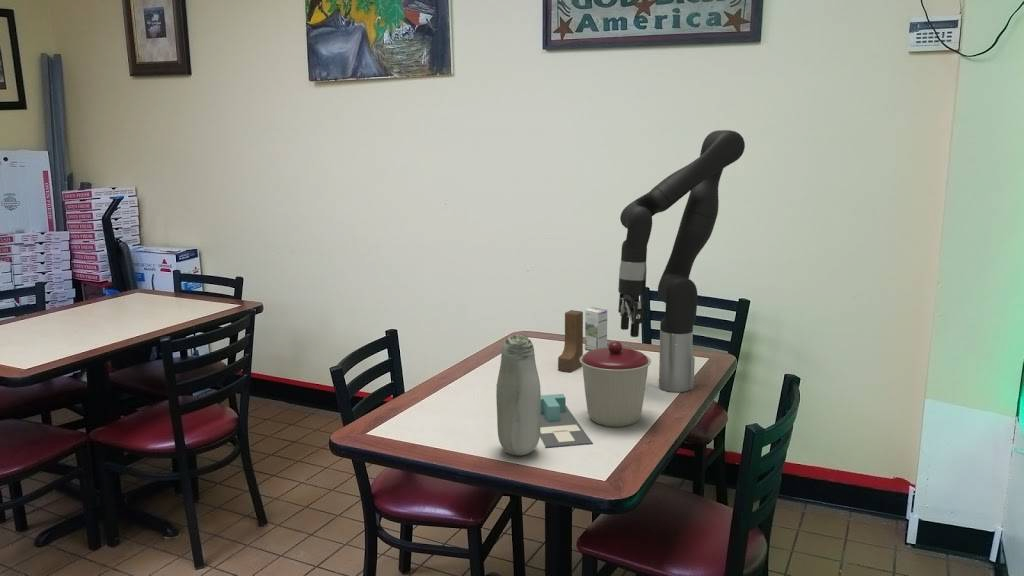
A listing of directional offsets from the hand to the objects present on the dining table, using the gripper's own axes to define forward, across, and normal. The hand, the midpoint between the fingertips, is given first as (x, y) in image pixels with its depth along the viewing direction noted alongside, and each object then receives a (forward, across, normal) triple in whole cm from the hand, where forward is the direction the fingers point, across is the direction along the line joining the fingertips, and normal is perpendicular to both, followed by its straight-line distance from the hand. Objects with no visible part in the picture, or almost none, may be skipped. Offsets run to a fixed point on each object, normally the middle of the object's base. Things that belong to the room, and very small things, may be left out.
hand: (629, 332), depth 212 cm
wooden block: (+18, +25, +10) cm, 33 cm away
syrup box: (+18, +44, -4) cm, 48 cm away
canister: (+18, -21, +10) cm, 29 cm away
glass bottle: (+19, -36, +38) cm, 55 cm away
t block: (+18, -15, +26) cm, 35 cm away
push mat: (+18, -21, +26) cm, 38 cm away
